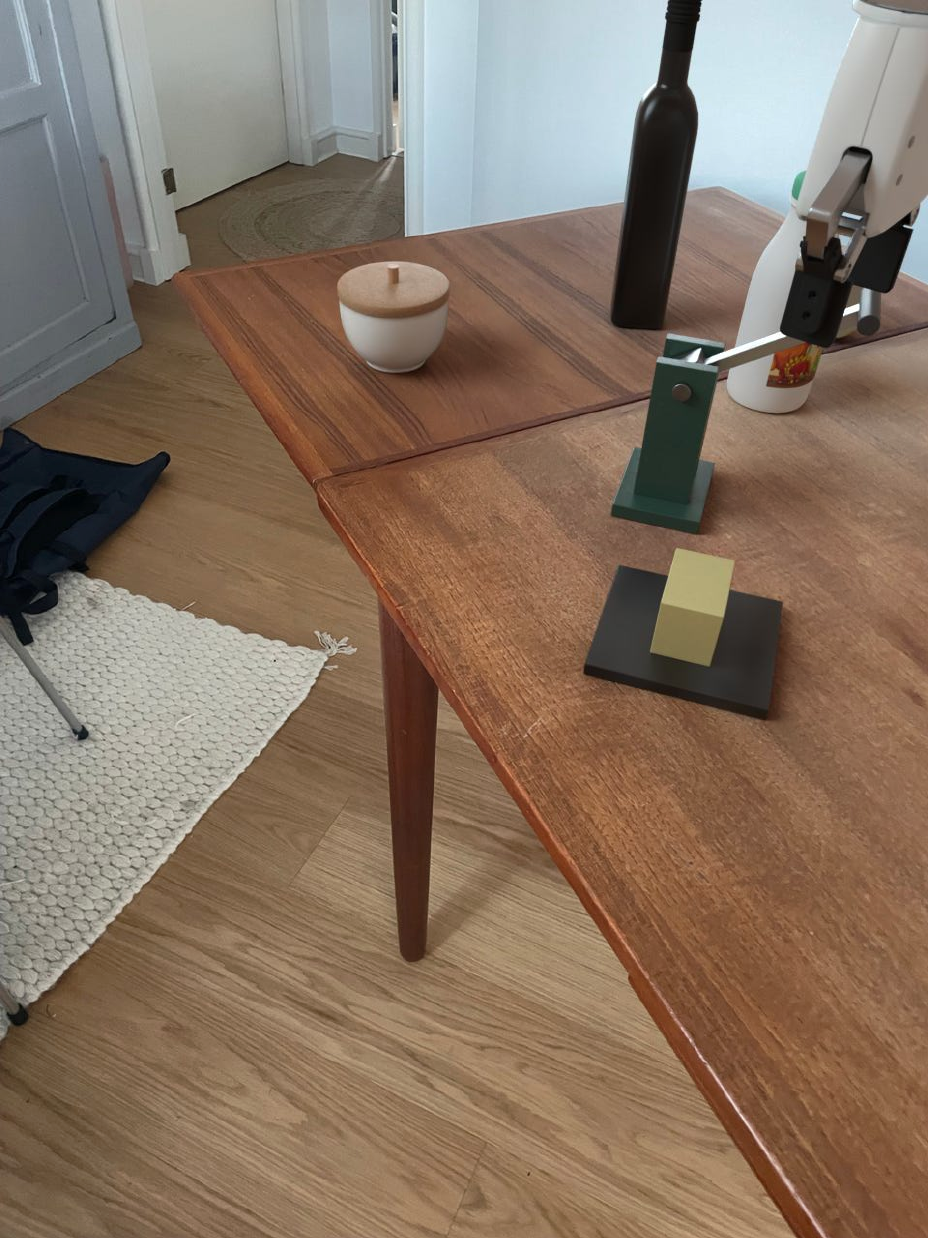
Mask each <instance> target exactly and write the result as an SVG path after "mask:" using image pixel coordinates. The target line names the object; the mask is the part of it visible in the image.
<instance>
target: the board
mask: <svg viewBox="0 0 928 1238" xmlns="http://www.w3.org/2000/svg"><path fill="white" fill-rule="evenodd" d="M668 576H669V575H668V574H662V573H657V572H654V571H649V570H645V569H641V568H635V567H631V566H626V565H624V564H618V565H617V567H616V571H615V573H614V576H613V579H612V583H611V585H610V588H609V591H608V593H607V598H606V599H605V603H604V605H603V608H602V611H601V614H600V617H599V619H598V623H597V626H596V628H595V632H594V634H593V637H592V641H591V642H590V643H591V644H590V647H589V649H588V652H587V655H586V658H585V660H584V663H583V671H582V673H583V675H586V676H590V677H595V678H598V679H603V680H607V681H609V682H613V683H618V684H622V685H626V686H629V687H632V688H633V687H635V688H637V689H641V690H645V691H650V692H654V693H657V694H661V695H665V696H669V697H674V698H678V699H680V700H685V701H689V702H693V703H696V704H701V705H705V706H708V707H713V708H717V709H721V710H725V711H729V712H733V713H736V714H740V715H744V716H748V717H752V718H756V719H760V720H765V721H766V719H767V717H768V714H769V711H770V704H771V698H772V689H773V682H774V675H775V666H776V659H777V652H778V645H779V638H780V637H779V636H780V629H781V622H782V614H783V606H784V601H782V600H778V599H773V598H768V597H765V596H760V595H755V594H751V593H748V592H747V593H746V592H742V591H737V590H735V589H734V590H733V589H730V590H729V595H728V600H727V605H726V610H725V615H724V619H723V623H722V626H721V630H720V633H719V637H718V640H717V644H716V647H715V651H714V654H713V657H712V661H711V664H710V666H709V667H708V666H704V665H700V664H696V663H692V662H688V661H684V660H680V659H676V658H672V657H668V656H663V655H659V654H655V653H651V652H650V650H651V645H652V641H653V636H654V632H655V627H656V623H657V618H658V614H659V609H660V605H661V601H662V597H663V594H664V590H665V586H666V583H667V579H668Z"/></svg>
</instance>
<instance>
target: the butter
mask: <svg viewBox="0 0 928 1238" xmlns="http://www.w3.org/2000/svg"><path fill="white" fill-rule="evenodd" d="M735 564H736V561H735V560H733V559H729V558H725V557H719V556H715V555H710V554H706V553H701V552H697V551H693V550H688V549H683V548H678V547H676V548H675V550H674V554H673V558H672V562H671V565H670V567H669V572H668V575H667V576H668V579H667V583H666V586H665V590H664V594H663V597H662V601H661V605H660V609H659V614H658V618H657V623H656V627H655V632H654V636H653V641H652V645H651V650H650V652H651V653H655V654H659V655H663V656H668V657H672V658H676V659H680V660H684V661H688V662H692V663H696V664H700V665H704V666H708V667H709V666H710V664H711V661H712V657H713V654H714V651H715V647H716V644H717V640H718V637H719V633H720V630H721V626H722V623H723V619H724V615H725V610H726V605H727V600H728V595H729V590H731V586H732V579H733V575H734V570H735Z"/></svg>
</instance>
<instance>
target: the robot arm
mask: <svg viewBox="0 0 928 1238" xmlns="http://www.w3.org/2000/svg"><path fill="white" fill-rule="evenodd" d="M851 9H852V10H853V12H854V13H856V14H858V15H859V17H858V18H857V20H856V22H855V24H854V28H853V29H852V31H851V35H850V36H849V40H848V42H847V44H846V46H845V49H844V52H843V55H842V57H841V61H840V63H839V66H838V69H837V72H836V74H835V77H834V79H833V82H832V85H831V86H832V87H831V89H830V92H829V95H828V98H827V101H826V105H825V107H824V110H823V114H822V117H821V121H820V123H819V126H818V130H817V134H816V137H815V140H814V143H813V147H812V150H811V153H810V156H809V159H808V163H807V167H806V170H805V171H806V173H805V177H804V180H803V183H802V187H801V190H800V194H799V197H798V201H797V205H796V213H797V216H798V218H799V219H800V220H802V221H807V223H806V236H803V241H801V242H800V248H801V251H800V253H799V255H798V258H797V261H796V264H795V273H794V276H793V280H792V284H791V288H790V291H789V295H788V299H787V303H786V306H785V310H784V314H783V318H782V321H781V325H780V332H781V333H782V334H783V335H785V336H788V337H791V338H794V339H798V340H801V341H804V342H807V343H810V344H813V345H816V346H820V347H823V349H829V348H830V347H831V346H832V345H833V344H835V342H836V340H837V338H836V337H837V334H838V330H839V327H840V324H841V321H842V318H843V314H844V311H845V308H846V305H847V302H848V298H849V295H850V292H851V289H852V286H853V285H856V286H859V287H863V288H866V289H870V290H873V291H877V292H880V293H881V294H889V293H890V292H891V291H892V290H893V289H894V287H895V285H896V283H897V279H898V276H899V273H900V270H901V268H902V265H903V263H904V259H905V257H906V253H907V250H908V247H909V244H910V242H911V238H912V236H913V233H914V228H911V227H913V226H914V224H915V223H916V221H917V219H918V216H919V213H920V210H921V203H922V202H923V201H924V200H925V199H926V198H927V196H928V0H853V2H852V6H851ZM843 214H849V215H854V216H858V217H860V218H853V217H849V216H846V215H843ZM906 226H907V227H906ZM835 234H839V236H844V237H847V238H850V239H849V241H848V243H847V244H846V247H845V249H844V251H843V250H842V247H843V246H842V242H841V238H840V237H839V238H836V237H834V236H835Z"/></svg>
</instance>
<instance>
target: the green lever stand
mask: <svg viewBox="0 0 928 1238" xmlns="http://www.w3.org/2000/svg"><path fill="white" fill-rule="evenodd" d="M726 344H727V343H726V342H723V341H716V340H710V339H704V338H698V337H692V336H687V335H681V334H675V333H667V335H666V338H665V340H664V347H663V352H662V356H658V357H657V360H656V363H655V369H654V374H653V380H652V385H651V390H650V395H649V396H650V397H649V402H648V407H647V413H646V420H645V425H644V429H643V430H644V431H643V435H642V443H641V447H637V446H634V447H633V448H632V452H631V454H630V457H629V459H628V462H627V464H626V467H625V469H624V472H623V475H622V478H621V480H620V483H619V486H618V488H617V490H616V494H615V497H614V499H613V501H612V504H611V510H610V516H611V517H614V518H619V519H624V520H629V521H634V522H638V523H643V524H648V525H653V526H657V527H662V528H666V529H671V530H675V531H681V532H685V533H689V534H694V535H697V534H698V533H699V529H700V525H701V521H702V518H703V517H702V516H703V514H704V513H703V512H704V510H705V505H706V501H707V497H708V493H709V489H710V485H711V481H712V479H713V478H712V477H713V474H714V470H715V465H716V463H715V461H708V460H703V459H700V458H701V454H702V449H703V445H704V442H705V441H704V440H705V436H706V433H707V429H708V423H709V419H710V415H711V410H712V406H713V401H714V397H715V394H716V388H717V384H718V381H719V375H720V372H719V373H718V370H719V367H717V366H711V365H706V364H700V363H694V362H688V361H682V360H677V359H672V358H675V357H678V356H681V355H683V354H686V353H689V352H691V351H694V350H697V349H700V348H701V349H702V351H703V353H704V356H705V358H709V357H712V356H715V355H717V354H720V353H723V352H725V349H726Z"/></svg>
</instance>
